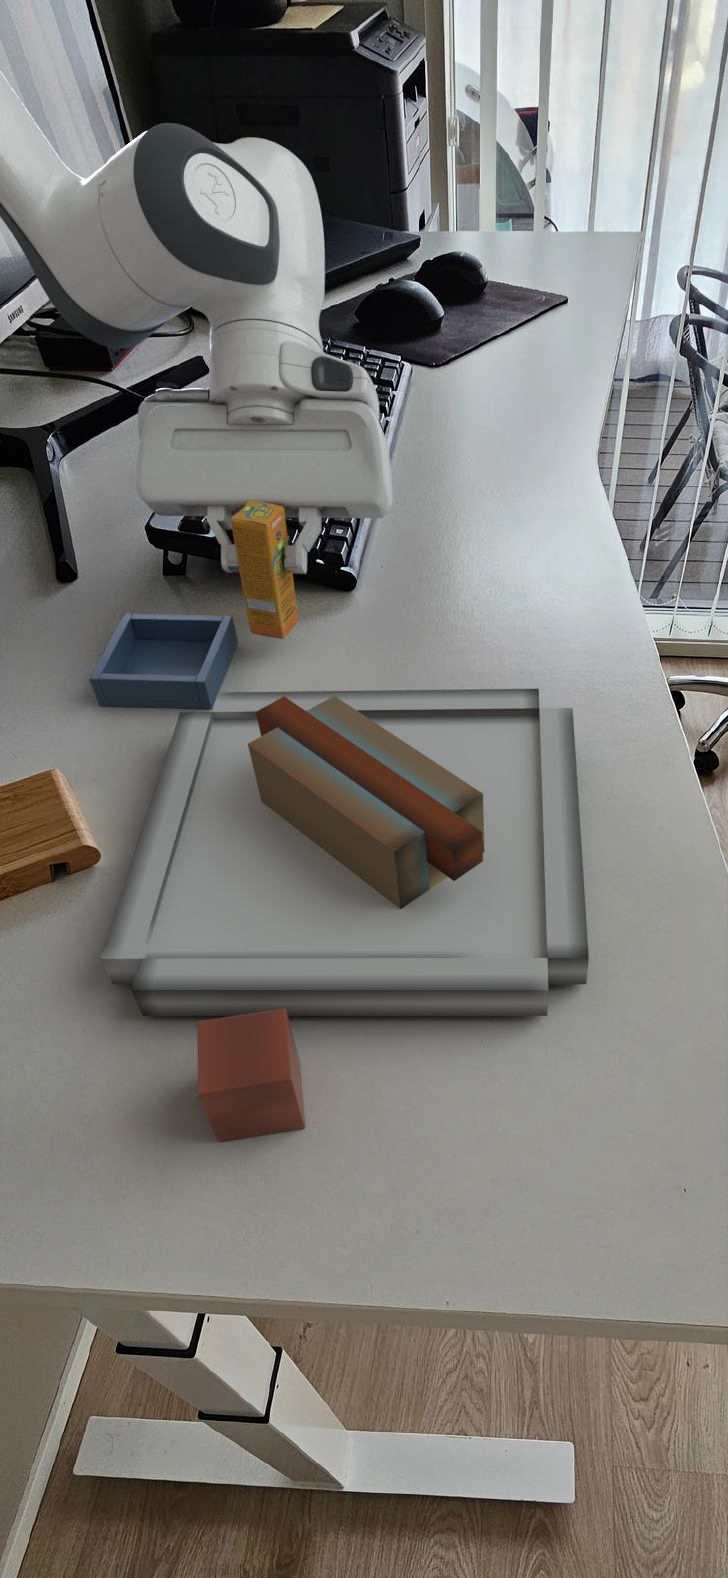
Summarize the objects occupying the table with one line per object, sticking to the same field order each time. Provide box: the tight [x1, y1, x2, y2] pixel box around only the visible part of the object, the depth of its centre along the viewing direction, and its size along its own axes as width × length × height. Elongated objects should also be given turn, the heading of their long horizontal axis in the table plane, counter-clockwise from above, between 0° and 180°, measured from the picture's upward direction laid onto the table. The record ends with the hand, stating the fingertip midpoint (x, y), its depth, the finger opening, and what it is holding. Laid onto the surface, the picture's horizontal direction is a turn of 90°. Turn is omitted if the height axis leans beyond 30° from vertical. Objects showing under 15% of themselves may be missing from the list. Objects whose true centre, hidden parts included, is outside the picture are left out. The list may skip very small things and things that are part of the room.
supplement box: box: [231, 501, 299, 640], centre depth 84 cm, size 3×3×10 cm
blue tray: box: [88, 613, 239, 710], centre depth 87 cm, size 10×10×3 cm
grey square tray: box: [99, 688, 590, 1017], centre depth 70 cm, size 30×30×8 cm
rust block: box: [196, 1009, 306, 1143], centre depth 59 cm, size 5×5×5 cm
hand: (264, 571), depth 83 cm, fingers closed on supplement box, 4 cm apart
